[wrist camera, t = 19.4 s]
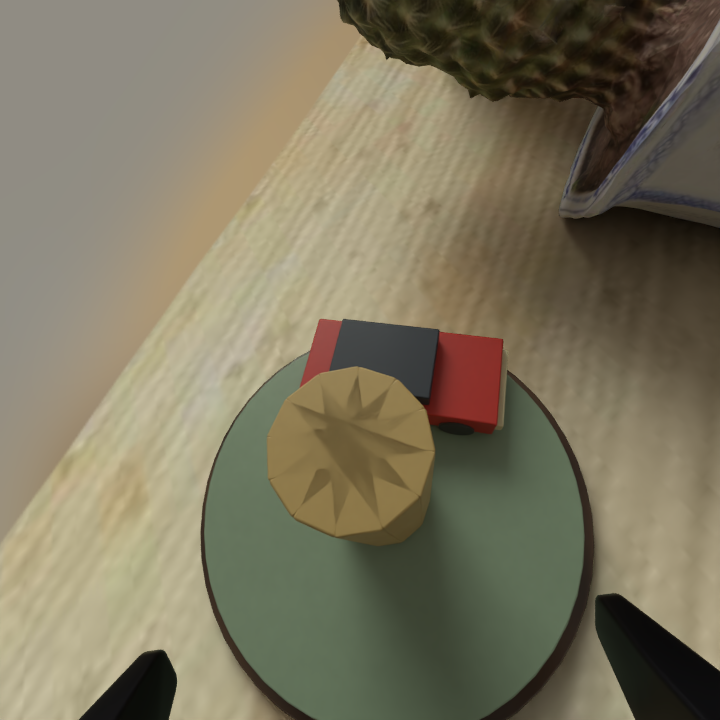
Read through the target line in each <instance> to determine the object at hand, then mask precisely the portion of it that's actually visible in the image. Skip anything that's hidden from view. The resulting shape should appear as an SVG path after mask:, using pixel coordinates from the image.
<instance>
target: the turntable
mask: <svg viewBox="0 0 720 720" xmlns="http://www.w3.org/2000/svg"><path fill="white" fill-rule="evenodd" d="M507 364H508V351H507V350H503V339H498V338H489V337H480V336H471V335H462V334H453V333H444V332H440V331H439V330H438V329H430V328H421V327H412V326H402V325H393V324H384V323H375V322H366V321H357V320H348V319H343V320H342V321H336V320H327V319H320V320H319V323H318V326H317V330H316V333H315V336H314V340H313V343H312V347H311V350H310V353H308V354H306V355H304V356H302V357H301V358H299V359H297V360H295V361H294V362H292V363H291V364H290V365H288V366H287V367H285V368H284V369H283V370H281V371H280V372H278V373H277V374H276V375H275V376H274V377H273V378H272V379H271V380H270V381H268V382H267V383H266V384H265V385H264V386H263V387H262V388H261V389H260V390H259V391H258V392H257V394H256V395H255V396H254V397H253V398H252V399H251V400H250V401H249V403H248V404H247V405H246V407H245V408H244V410H243V411H242V412H241V414H240V415H239V417H238V418H237V420H236V421H235V423H234V425H233V427H232V428H231V430H230V432H229V434H228V436H227V437H226V439H225V441H224V444H223V446H222V449H221V451H220V453H219V456H218V458H217V460H216V464H215V467H214V471H213V474H212V477H211V481H210V485H209V491H208V497H207V502H206V510H205V527H204V538H205V555H206V562H207V568H208V574H209V579H210V584H211V588H212V591H213V594H214V597H215V600H216V604H217V607H218V610H219V612H220V614H221V617H222V619H223V621H224V623H225V625H226V628H227V630H228V632H229V634H230V636H231V638H232V639H233V641H234V642H235V644H236V646H237V647H238V649H239V650H240V652H241V653H242V655H243V657H244V658H245V660H246V661H247V662H248V663H249V665H250V666H251V667H252V668H253V669H254V670H255V672H256V673H257V674H258V675H259V676H260V678H261V679H262V680H263V681H264V682H265V683H266V684H267V685H268V686H269V687H270V688H272V689H273V690H274V691H275V692H276V693H277V694H278V695H279V696H281V697H282V698H283V699H284V700H285V701H286V702H288V703H289V704H291V705H292V706H294V707H295V708H297V709H299V710H300V711H302V712H303V713H305V714H306V715H308V716H310V717H311V718H313V719H315V720H480V719H482V718H484V717H486V716H488V715H490V714H491V713H492V712H494V711H495V710H497V709H498V708H500V707H501V706H502V705H504V704H505V703H507V702H508V701H509V700H511V699H512V698H514V697H515V696H516V695H517V694H518V693H519V692H520V691H521V690H522V689H523V688H524V687H525V686H526V685H527V684H528V683H529V682H530V681H531V680H532V679H533V678H534V677H535V676H536V675H537V673H538V672H539V671H540V669H541V668H542V666H543V665H544V664H545V662H546V661H547V660H548V658H549V657H550V655H551V654H552V653H553V651H554V650H555V648H556V646H557V644H558V642H559V640H560V638H561V636H562V634H563V632H564V630H565V628H566V626H567V624H568V622H569V619H570V616H571V613H572V610H573V607H574V604H575V601H576V599H577V596H578V591H579V586H580V580H581V575H582V570H583V562H584V541H585V533H584V522H583V510H582V504H581V499H580V495H579V490H578V485H577V481H576V478H575V475H574V472H573V469H572V467H571V464H570V461H569V458H568V455H567V453H566V451H565V449H564V447H563V445H562V443H561V441H560V439H559V437H558V435H557V433H556V431H555V430H554V428H553V427H552V425H551V424H550V422H549V421H548V419H547V418H546V416H545V415H544V413H543V412H542V410H541V409H540V408H539V407H538V405H537V404H536V403H535V402H534V401H533V400H532V398H531V397H530V396H529V395H528V394H527V392H526V391H524V390H523V389H522V388H521V387H520V386H519V385H518V384H517V383H516V382H515V381H514V380H513V379H512V378H511V377H509V376H508V375H507Z"/></svg>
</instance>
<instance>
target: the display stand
mask: <svg viewBox="0 0 720 720" xmlns="http://www.w3.org/2000/svg"><path fill="white" fill-rule="evenodd" d="M308 353H310V351H309V352H307V353H305V354H303V355H301V356H299V357H297V358H296V359H295V360H297V359H299V358H301V357H302V356H304V355H306V354H308ZM295 360H293V361H292V362H294V361H295ZM292 362H290V363H289V364H287V365H286V366H284V367H283V368H281V369H280V370H279V371H278V372H280V371H281V370H283V369H284V368H285V367H287V366H288V365H290V364H291V363H292ZM278 372H277V373H278ZM277 373H275V374H274V375H273V376H272V377H271V378H270V379H268V380H267V381H266V382H265V383H264V384H263V385H262V386H261V387H260V388H259V389H258V390H257V391H256V392H255V394H254V395H253V396H252V397H251V398H250V399H249V400H248V402H247V403H246V404H245V406H244V407H243V408H242V410H241V411H240V412H239V414H238V415H237V416H236V418H235V420H234V421H233V423H232V425H231V426H230V428H229V430H228V432H227V433H226V435H225V437H224V439H223V441H222V443H221V446H220V448H219V450H218V452H217V455H216V457H215V459H214V463H213V466H212V469H211V472H210V475H209V478H208V482H207V487H206V492H205V497H204V502H203V508H202V520H201V558H202V565H203V571H204V578H205V584H206V588H207V592H208V595H209V599H210V602H211V606H212V609H213V613H214V615H215V618H216V620H217V622H218V625H219V627H220V629H221V632H222V634H223V636H224V639H225V641H226V642H227V644H228V646H229V647H230V649H231V651H232V652H233V654H234V656H235V658H236V659H237V661H238V663H239V664H240V666H241V667H242V668H243V670H244V671H245V672H246V673H247V675H248V676H249V677H250V678H251V680H252V681H253V682H254V683H255V685H256V686H257V687H258V688H259V689H260V690H261V691H262V692H263V693H264V694H265V695H266V696H267V697H268V698H269V699H270V700H271V701H272V702H273V703H274V704H276V705H277V706H278V707H279V708H280V709H281V710H282V711H284V712H285V713H286V714H288V715H289V716H291V717H292V718H294V719H295V720H315V719H313V718H311V717H310V716H308V715H306V714H305V713H303V712H302V711H300V710H299V709H297V708H295V707H294V706H292V705H291V704H289V703H288V702H286V701H285V700H284V699H283V698H282V697H281V696H279V695H278V694H277V693H276V692H275V691H274V690H273V689H272V688H270V687H269V686H268V685H267V684H266V683H265V682H264V681H263V680H262V679H261V678H260V676H259V675H258V674H257V673H256V672H255V670H254V669H253V668H252V667H251V666H250V665H249V663H248V662H247V661H246V660H245V658H244V657H243V655H242V653H241V652H240V650H239V649H238V647H237V646H236V644H235V642H234V641H233V639H232V638H231V636H230V634H229V632H228V630H227V628H226V625H225V623H224V621H223V619H222V617H221V614H220V612H219V610H218V607H217V604H216V600H215V597H214V594H213V591H212V588H211V584H210V579H209V574H208V568H207V562H206V555H205V538H204V527H205V510H206V502H207V497H208V491H209V485H210V481H211V477H212V474H213V471H214V467H215V464H216V460H217V458H218V456H219V453H220V451H221V449H222V446H223V444H224V441H225V439H226V437H227V436H228V434H229V432H230V430H231V428H232V427H233V425H234V423H235V421H236V420H237V418H238V417H239V415H240V414H241V412H242V411H243V410H244V408H245V407H246V405H247V404H248V403H249V401H250V400H251V399H252V398H253V397H254V396H255V395H256V394H257V392H258V391H259V390H260V389H261V388H262V387H263V386H264V385H265V384H266V383H267V382H268V381H270V380H271V379H272V378H273V377H274V376H275V375H276V374H277ZM507 375H508V376H509V377H511V378H512V379H513V380H514V381H515V382H516V383H517V384H518V385H519V386H520V387H521V388H522V389H523V390H524V391H526V392H527V394H528V395H529V396H530V397H531V398H532V400H533V401H534V402H535V403H536V404H537V405H538V407H539V408H540V409H541V410H542V412H543V413H544V415H545V416H546V418H547V419H548V421H549V422H550V424H551V425H552V427H553V428H554V430H555V431H556V433H557V435H558V437H559V439H560V441H561V443H562V445H563V447H564V449H565V451H566V453H567V455H568V458H569V461H570V464H571V467H572V469H573V472H574V475H575V478H576V481H577V485H578V490H579V495H580V499H581V504H582V510H583V522H584V533H585V541H584V562H583V570H582V575H581V580H580V586H579V591H578V596H577V599H576V601H575V604H574V607H573V610H572V613H571V616H570V619H569V622H568V624H567V626H566V628H565V630H564V632H563V634H562V636H561V638H560V640H559V642H558V644H557V646H556V648H555V650H554V651H553V653H552V654H551V655H550V657H549V658H548V660H547V661H546V662H545V664H544V665H543V666H542V668H541V669H540V671H539V672H538V673H537V675H536V676H535V677H534V678H533V679H532V680H531V681H530V682H529V683H528V684H527V685H526V686H525V687H524V688H523V689H522V690H521V691H520V692H519V693H518V694H517V695H516V696H515V697H514V698H512V699H511V700H509V701H508V702H507V703H505V704H504V705H502V706H501V707H500V708H498V709H497V710H495V711H494V712H492V713H491V714H490V715H488V716H486V717H484V718H482V719H480V720H507V719H509V718H510V717H512V716H513V715H515V714H516V713H518V712H519V711H520V710H521V709H522V708H523V707H524V706H525V705H526V704H527V703H528V702H529V701H530V700H531V699H532V698H533V697H534V696H536V695H537V694H538V693H539V692H540V691H541V690H542V688H543V687H544V686H545V684H546V683H547V682H548V680H549V679H550V678H551V676H552V675H553V674H554V672H555V671H556V670H557V669H558V667H559V666H560V664H561V663H562V661H563V659H564V657H565V655H566V653H567V651H568V650H569V648H570V646H571V644H572V642H573V640H574V638H575V637H576V634H577V631H578V628H579V625H580V623H581V620H582V617H583V614H584V611H585V609H586V605H587V600H588V595H589V590H590V585H591V580H592V573H593V557H594V536H593V522H592V513H591V508H590V503H589V499H588V494H587V489H586V485H585V482H584V479H583V476H582V473H581V471H580V468H579V465H578V462H577V459H576V457H575V455H574V453H573V451H572V449H571V447H570V445H569V443H568V441H567V439H566V437H565V435H564V433H563V432H562V430H561V429H560V427H559V426H558V424H557V422H556V421H555V419H554V418H553V416H552V415H551V413H550V412H549V411H548V410H547V408H546V407H545V406H544V405H543V404H542V402H541V401H540V400H539V399H538V398H537V396H536V395H535V394H534V393H533V392H532V391H531V390H530V389H529V388H528V387H527V386H526V385H525V384H524V383H522V382H521V381H520V380H519V379H518V378H517V377H516V376H515V375H513V374H512V373H511V372H509V371H508V370H507Z"/></svg>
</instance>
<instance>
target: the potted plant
mask: <svg viewBox="0 0 720 720" xmlns="http://www.w3.org/2000/svg"><path fill="white" fill-rule="evenodd" d="M338 2H339V7H340V16H341V19H342V21H343V22H344V23H347V24H351V25H354V26H355V27H356V28H357V30H358V31H359V33H360V34H361V35H362V36H364V37H365V38H366V40H367V41H368V42H369V43H370V44H371V45H372V46H375V47H377V48H379V49H381V50H382V51H383V52H384V54H385V56H386V60H387V59H388V58H389V57H391V58H395V59H400V60H402V61H403V62H405V63H406V64H410V65H415V66H426V65H431V66H434V67H436V68H438V69H440V70H442V71H444V72H446V73H448V74H450V75H452V76H454V77H455V78H456V80H457V81H458V83H459V84H461V85H462V86H464V87H465V88H466V89H468V91H469V95H470V98H472V97H474V96H476V95H478V94H481V95H482V96H484V97H486V98H488V99H489V100H491V101H493V102H494V101H498V100H500V99H502V98H504V97H506V96H508V95H509V96H511V97H526V98H541V99H545V98H552V99H554V100H556V101H559V102H561V101H564V100H568V99H571V98H585V99H587V100H588V101H590V102H592V103H594V104H595V105H597V106H598V107H597V109H596V111H595V113H594V115H593V117H592V119H591V121H590V124H589V126H588V128H587V131H586V133H585V136H584V138H583V140H582V142H581V144H580V146H579V148H578V151H577V154H576V156H575V159H574V162H573V164H572V166H571V171H570V176H569V178H568V180H567V182H566V185H565V188H564V192H563V195H562V199H561V203H560V206H559V216H561V217H562V218H568V217H572V218H574V219H577V218H581V217H586V218H590V217H593V216H596V215H599V214H602V213H603V212H605V211H607V210H608V209H610V208H612V207H613V206H623V207H630V208H637V209H642V210H646V211H650V212H655V213H659V214H663V215H667V216H671V217H675V218H679V219H684V220H689V221H693V222H698V223H703V224H707V225H710V226H714V227H718V228H720V0H338Z"/></svg>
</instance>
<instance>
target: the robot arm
mask: <svg viewBox="0 0 720 720" xmlns="http://www.w3.org/2000/svg"><path fill="white" fill-rule="evenodd" d="M595 626H596V631H597V634H598V637H599V639H600V642H601V644H602V646H603V649H604V651H605V653H606V655H607V657H608V660H609V662H610V664H611V666H612V669H613V671H614V673H615V675H616V678H617V680H618V682H619V684H620V687H621V689H622V691H623V693H624V695H625V698H626V700H627V702H628V704H629V707H630V709H631V711H632V713H633V716H634V718H635V720H720V671H719V670H718V669H716V668H715V667H714V666H713V665H711V664H710V663H709V662H707V661H706V660H705V659H703V658H702V657H701V656H700V655H698V654H697V653H696V652H694V651H693V650H692V649H690V648H689V647H688V646H686V645H685V644H684V643H683V642H681V641H680V640H679V639H677V638H676V637H675V636H673V635H672V634H671V633H670V632H668V631H667V630H666V629H664V628H663V627H662V626H660V625H659V624H658V623H657V622H655V621H654V620H653V619H651V618H650V617H649V616H647V615H646V614H645V613H644V612H642V611H641V610H640V609H638V608H637V607H636V606H634V605H633V604H632V603H630V602H629V601H628V600H627V599H625V598H624V597H623V596H621V595H619V594H616V593H612V594H604V595H598V596H597V597H596V600H595ZM176 687H177V676H176V673H175V671H174V668H173V666H172V664H171V662H170V660H169V658H168V656H167V654H166V652H165V651H163V650H154V651H147V652H144V653H143V654H141V655H140V656H139V657H138V658H137V659H136V660H135V661H134V662H133V663H132V664H131V665H130V666H129V668H128V669H127V670H126V671H125V672H124V673H123V674H122V675H121V676H120V677H119V678H118V679H117V680H116V681H115V682H114V683H113V684H112V685H111V686H110V687H109V688H108V690H107V691H106V692H105V693H104V694H103V695H102V696H101V697H100V698H99V699H98V700H97V701H96V702H95V703H94V704H93V705H92V706H91V707H90V708H89V709H88V710H87V712H86V713H85V714H84V715H83V716H82V717H81V718H80V719H79V720H169V716H170V712H171V708H172V704H173V700H174V696H175V692H176Z"/></svg>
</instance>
